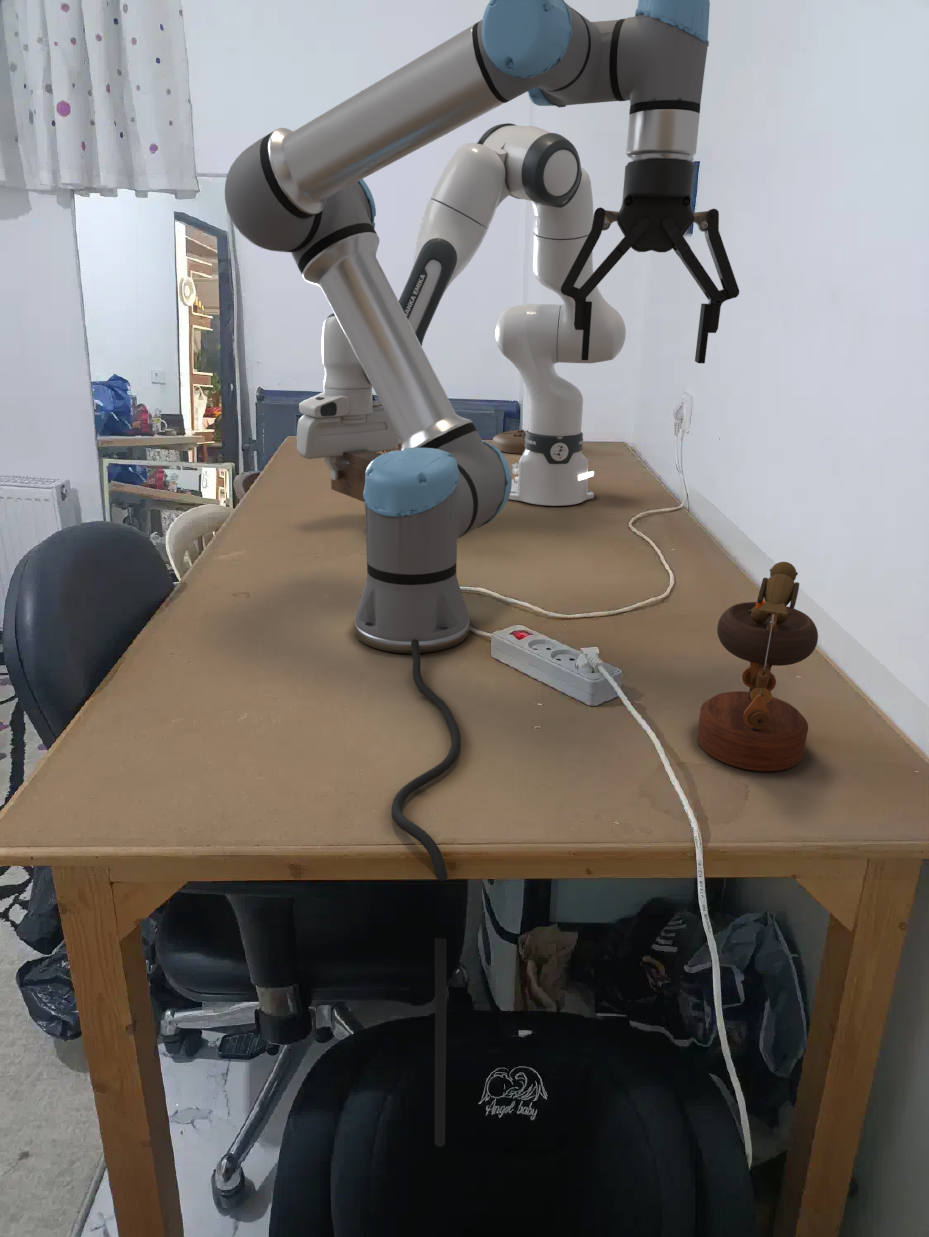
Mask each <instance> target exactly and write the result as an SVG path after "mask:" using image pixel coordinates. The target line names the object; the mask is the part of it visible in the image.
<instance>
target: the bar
mask: <svg viewBox="0 0 929 1237" xmlns="http://www.w3.org/2000/svg"><path fill="white" fill-rule="evenodd" d="M383 454H384V453H378V452H373V451H369V450H357V451H349V452H343V455H342V456H336V462H334V464H335V466H336V468H337V469H339V470H342V479H340V480H333V479H331V478H330V484H331V490H333V491H334V492H337V493H340V494H343V495H345V496H347V497H350V498H353V499H356V500H358V501H360V502H363V503H365V501H364V498H363V493H364V486H365V473H366V469H367V467H368V465H369V464H370V463H371V462H372V461H373V460H374V459H375V458H377V457H378V456H380V455H383Z"/></svg>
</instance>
